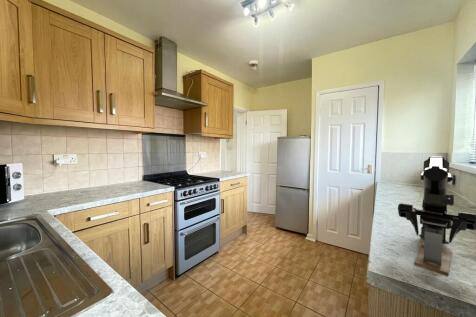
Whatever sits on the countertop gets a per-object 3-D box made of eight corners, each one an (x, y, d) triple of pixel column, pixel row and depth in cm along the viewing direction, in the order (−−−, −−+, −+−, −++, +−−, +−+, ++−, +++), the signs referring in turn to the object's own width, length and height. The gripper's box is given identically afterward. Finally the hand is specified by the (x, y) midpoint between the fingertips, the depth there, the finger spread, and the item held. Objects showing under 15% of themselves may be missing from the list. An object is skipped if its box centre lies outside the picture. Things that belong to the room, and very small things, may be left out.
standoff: (424, 255, 67) (425, 227, 66) (441, 260, 64) (442, 230, 63) (423, 260, 64) (424, 231, 63) (441, 265, 61) (442, 234, 60)
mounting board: (422, 246, 75) (422, 240, 75) (451, 254, 69) (452, 247, 69) (414, 264, 64) (414, 257, 64) (448, 275, 58) (448, 267, 58)
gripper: (399, 181, 72) (393, 218, 65) (478, 188, 59) (483, 235, 52) (401, 198, 78) (396, 234, 71) (474, 208, 65) (477, 253, 58)
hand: (433, 238), depth 63 cm, fingers open, 7 cm apart
